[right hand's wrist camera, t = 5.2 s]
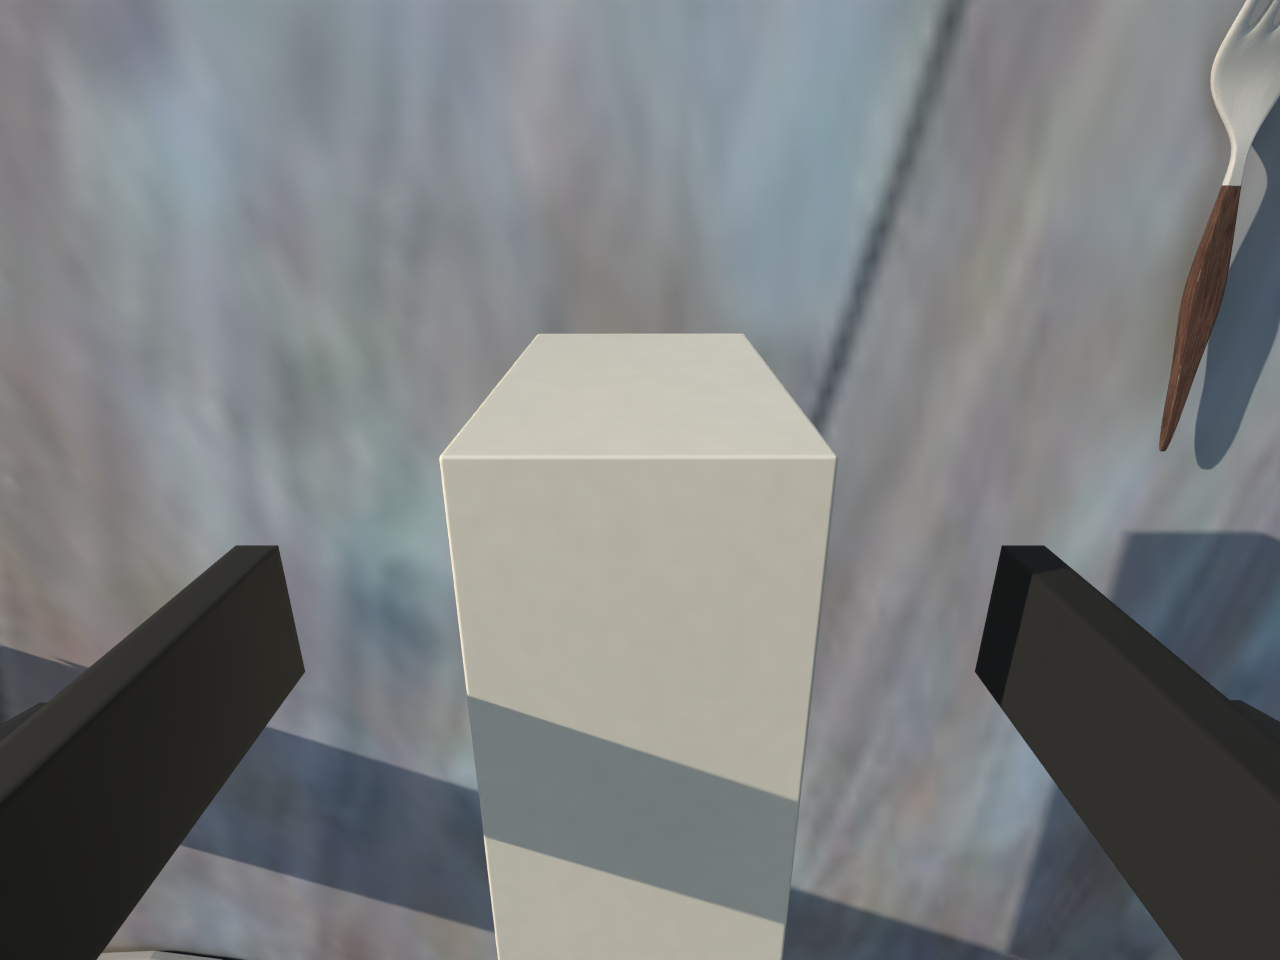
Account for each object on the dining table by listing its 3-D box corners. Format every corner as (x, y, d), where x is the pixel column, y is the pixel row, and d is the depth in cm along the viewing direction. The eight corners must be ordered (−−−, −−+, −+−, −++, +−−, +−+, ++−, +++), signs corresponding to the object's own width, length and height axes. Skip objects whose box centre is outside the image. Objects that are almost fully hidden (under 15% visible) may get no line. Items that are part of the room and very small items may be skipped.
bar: (537, 333, 18) (437, 456, 9) (744, 333, 18) (839, 456, 9) (573, 971, 27) (541, 1331, 19) (710, 971, 27) (741, 1331, 19)
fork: (1117, 447, 26) (1153, 466, 24) (1240, -66, 20) (1300, -93, 18) (1187, 445, 26) (1228, 464, 24) (1331, -70, 20) (1400, -97, 18)
